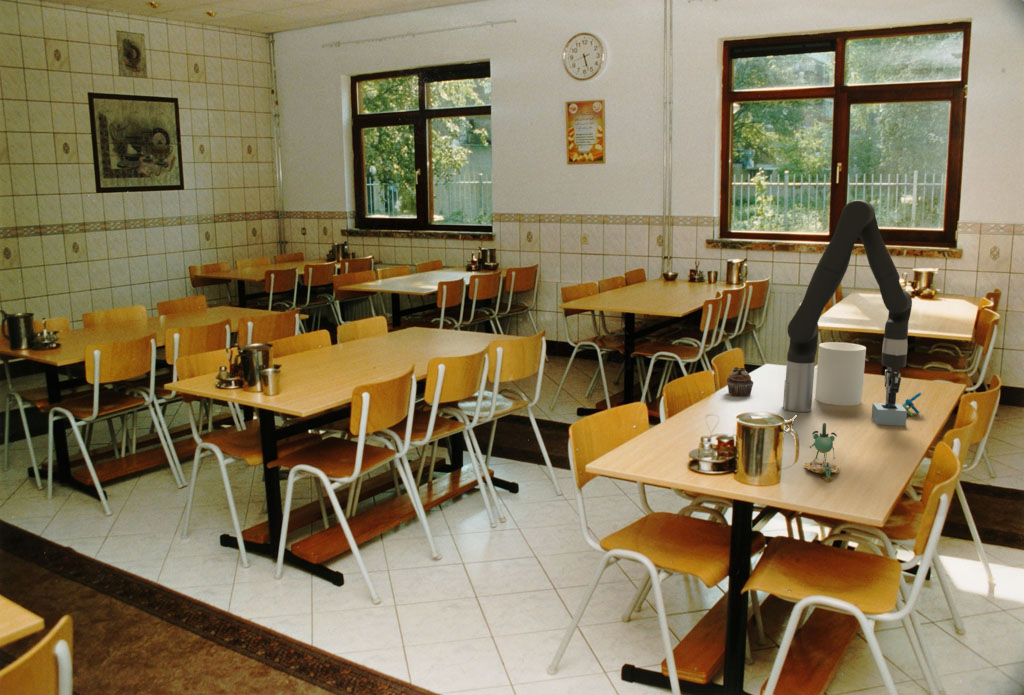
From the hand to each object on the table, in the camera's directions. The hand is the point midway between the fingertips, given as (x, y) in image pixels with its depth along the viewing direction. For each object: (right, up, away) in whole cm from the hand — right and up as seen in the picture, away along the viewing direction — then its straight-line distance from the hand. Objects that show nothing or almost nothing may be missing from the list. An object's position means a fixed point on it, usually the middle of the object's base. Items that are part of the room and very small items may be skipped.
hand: (890, 402), depth 295 cm
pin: (0, -3, +1) cm, 3 cm away
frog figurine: (-40, -16, -50) cm, 66 cm away
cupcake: (-40, +1, +38) cm, 55 cm away
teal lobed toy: (+11, -5, +12) cm, 17 cm away
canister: (-6, -1, +30) cm, 30 cm away
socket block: (0, -6, +1) cm, 7 cm away
